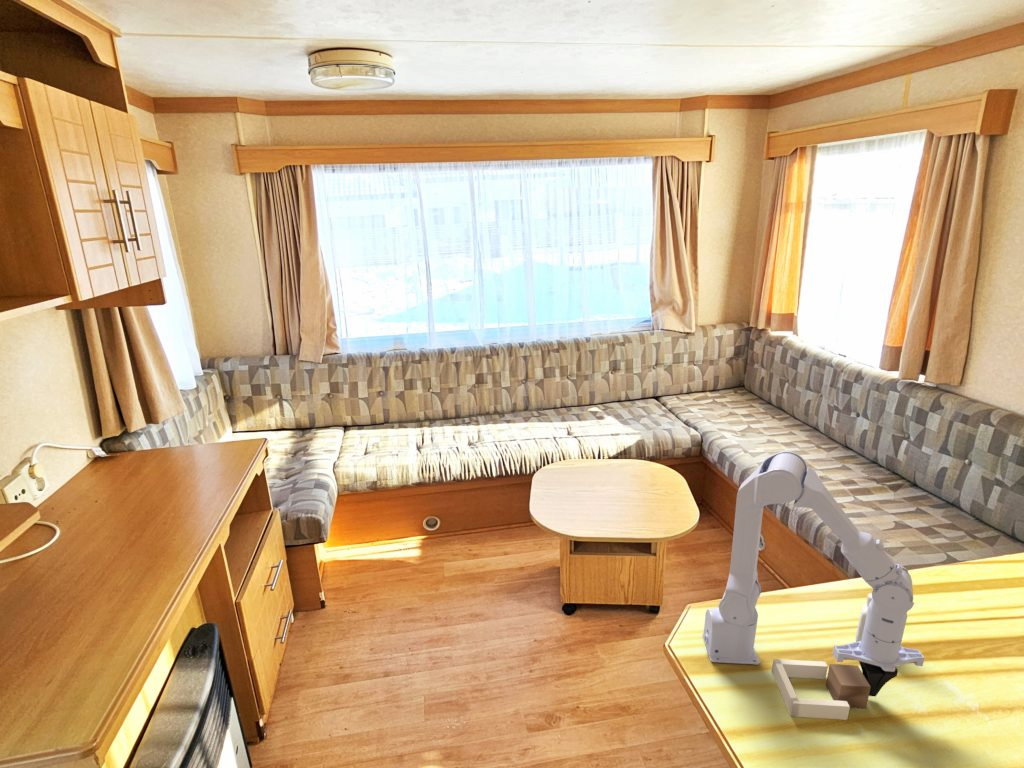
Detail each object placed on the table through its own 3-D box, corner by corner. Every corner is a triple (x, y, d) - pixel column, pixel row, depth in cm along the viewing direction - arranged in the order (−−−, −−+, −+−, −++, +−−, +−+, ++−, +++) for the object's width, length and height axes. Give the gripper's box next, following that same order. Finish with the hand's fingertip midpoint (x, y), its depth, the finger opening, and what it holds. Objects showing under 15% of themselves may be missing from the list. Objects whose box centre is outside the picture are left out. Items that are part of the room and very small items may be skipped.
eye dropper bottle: (885, 644, 121) (896, 595, 117) (862, 649, 120) (873, 600, 116) (868, 629, 125) (878, 582, 121) (846, 634, 124) (855, 586, 120)
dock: (790, 716, 105) (793, 703, 104) (771, 671, 114) (773, 658, 114) (847, 719, 104) (849, 706, 103) (822, 674, 114) (825, 661, 113)
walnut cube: (836, 706, 106) (841, 685, 105) (825, 685, 111) (829, 663, 110) (866, 708, 106) (870, 686, 104) (853, 686, 111) (857, 665, 109)
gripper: (850, 645, 100) (838, 707, 105) (940, 650, 99) (924, 712, 103) (832, 617, 107) (821, 676, 111) (916, 621, 106) (902, 681, 110)
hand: (869, 691), depth 108 cm, fingers closed
